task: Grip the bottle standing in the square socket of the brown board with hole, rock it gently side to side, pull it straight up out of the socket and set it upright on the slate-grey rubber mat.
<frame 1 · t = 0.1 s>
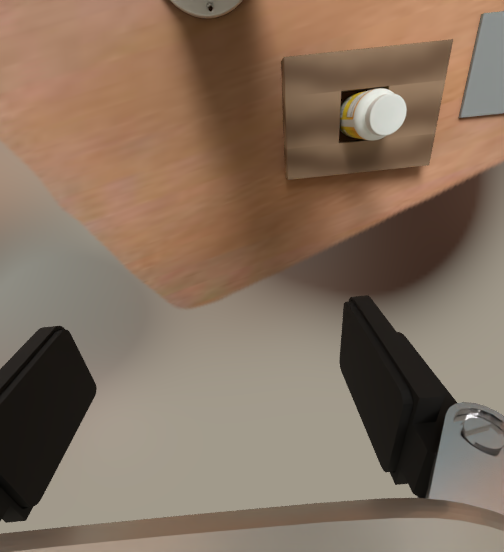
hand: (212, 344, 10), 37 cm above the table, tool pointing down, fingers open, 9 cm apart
supplement bottle: (355, 116, 40), resting in brown board with hole
brown board with hole: (355, 116, 39), on the table
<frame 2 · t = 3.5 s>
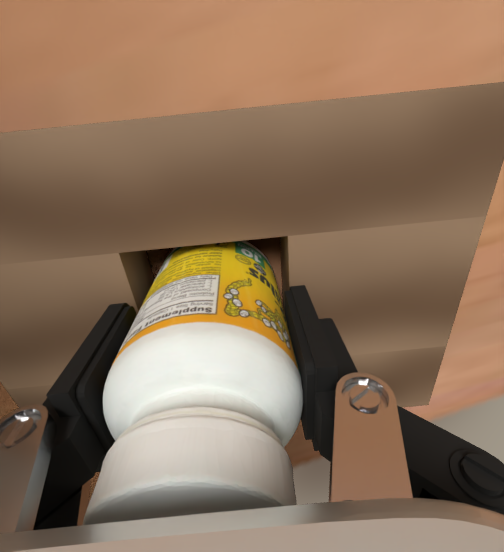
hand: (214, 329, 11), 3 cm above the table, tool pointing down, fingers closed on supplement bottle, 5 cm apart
supplement bottle: (219, 280, 14), resting in brown board with hole, touching gripper
brown board with hole: (219, 283, 14), on the table
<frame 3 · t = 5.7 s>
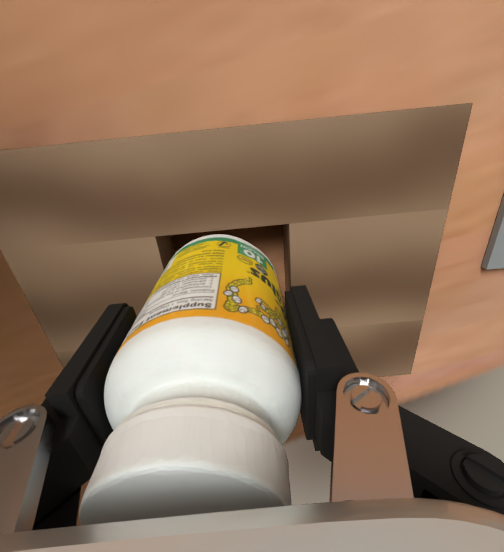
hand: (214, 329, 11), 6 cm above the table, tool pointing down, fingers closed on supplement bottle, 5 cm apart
supplement bottle: (223, 282, 14), point 2 cm above the table, touching gripper
brown board with hole: (232, 266, 16), on the table
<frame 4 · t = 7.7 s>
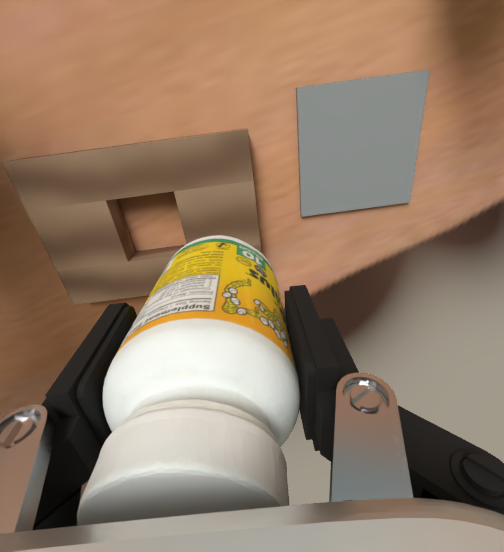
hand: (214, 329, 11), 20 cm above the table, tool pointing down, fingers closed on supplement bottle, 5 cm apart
rubber mat: (357, 150, 27), on the table
supplement bottle: (222, 283, 14), point 16 cm above the table, touching gripper
brown board with hole: (156, 220, 29), on the table
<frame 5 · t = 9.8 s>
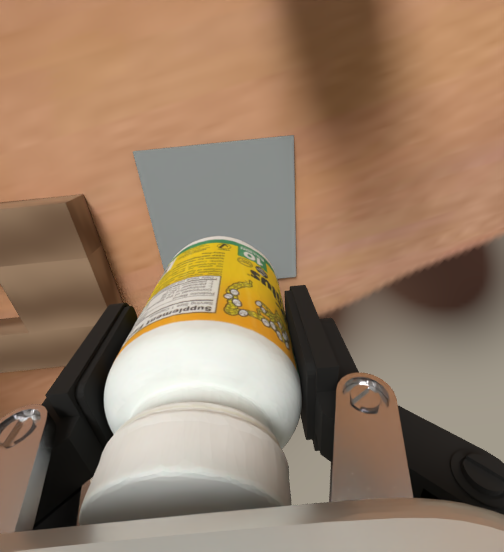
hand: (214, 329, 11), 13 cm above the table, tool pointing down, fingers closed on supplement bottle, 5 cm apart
rubber mat: (224, 220, 22), on the table
supplement bottle: (223, 284, 14), point 10 cm above the table, touching gripper
when the fingers open (5 cm above the table, at t = 11.7 s): supplement bottle stays where it is, resting on rubber mat.
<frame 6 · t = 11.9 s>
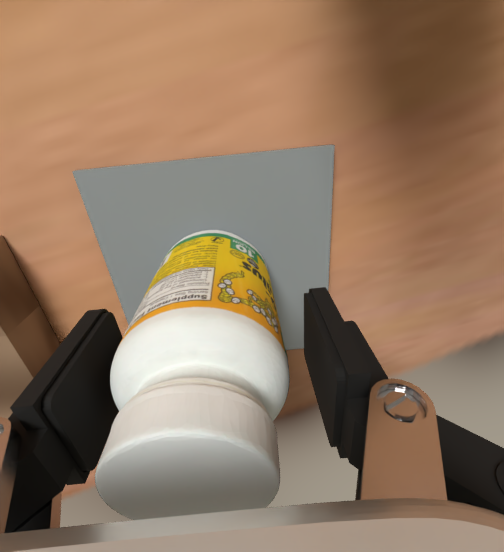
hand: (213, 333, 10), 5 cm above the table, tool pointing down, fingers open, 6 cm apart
rubber mat: (221, 270, 15), on the table
supplement bottle: (216, 275, 15), resting on rubber mat
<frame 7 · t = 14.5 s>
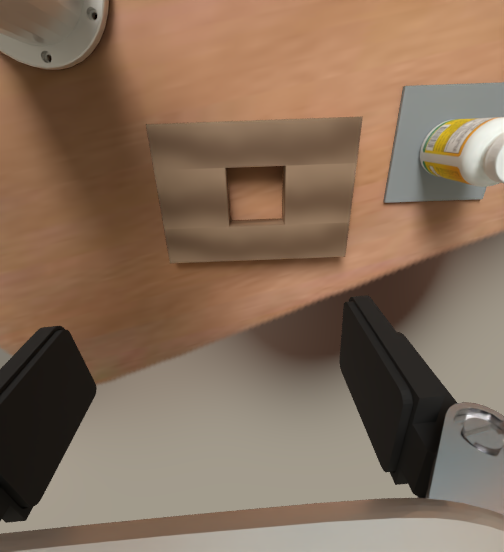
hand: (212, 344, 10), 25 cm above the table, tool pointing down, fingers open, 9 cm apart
rubber mat: (444, 147, 30), on the table
supplement bottle: (442, 149, 30), resting on rubber mat
brown board with hole: (255, 193, 32), on the table
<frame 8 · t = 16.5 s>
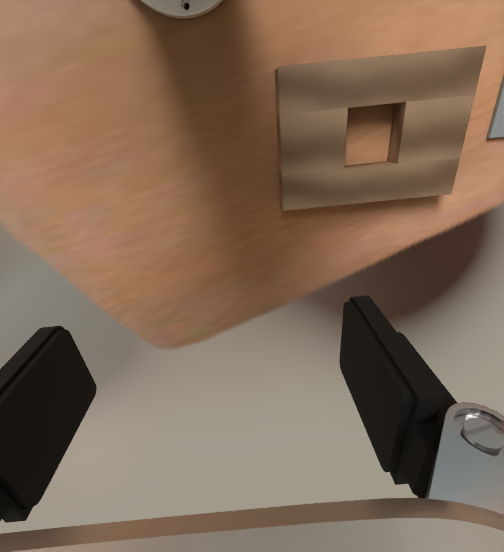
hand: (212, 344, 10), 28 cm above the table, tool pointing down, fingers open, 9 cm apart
brown board with hole: (364, 136, 33), on the table
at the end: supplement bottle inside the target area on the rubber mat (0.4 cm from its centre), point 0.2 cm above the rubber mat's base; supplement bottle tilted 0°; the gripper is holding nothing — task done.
